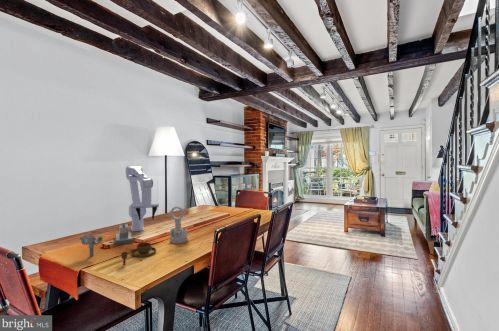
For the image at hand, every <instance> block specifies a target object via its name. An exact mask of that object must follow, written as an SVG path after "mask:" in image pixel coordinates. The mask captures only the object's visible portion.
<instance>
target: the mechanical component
mask: <svg viewBox="0 0 499 331" xmlns="http://www.w3.org/2000/svg"><path fill="white" fill-rule="evenodd" d="M79 238H80V242H81V244H82V245H87V246H88V247H87V248H88V249H89V258H92V257H93V256H94V248H95V246H97V245H99V244H101V243H102V240H103V236H98V237H97V238H96V236H95V235H87V234H86V235H85V234H84V235H82V236H80V237H79Z"/></svg>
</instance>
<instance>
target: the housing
mask: <svg viewBox="0 0 499 331" xmlns="http://www.w3.org/2000/svg"><path fill="white" fill-rule="evenodd" d="M118 230H119V231H118V232H119V233H118V234H119V237H120V238H128V233H129V224H128V223H122V224H119V229H118Z"/></svg>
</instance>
